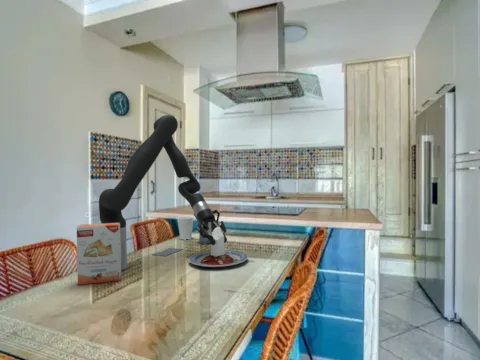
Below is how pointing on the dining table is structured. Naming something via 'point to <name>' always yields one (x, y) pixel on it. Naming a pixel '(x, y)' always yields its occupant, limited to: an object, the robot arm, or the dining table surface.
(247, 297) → the dining table surface
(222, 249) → the white peaked cylinder
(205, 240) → the moka pot
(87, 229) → the cracker box
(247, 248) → the dining table surface
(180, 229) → the foam cup
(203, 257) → the ceramic plate
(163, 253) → the mat
